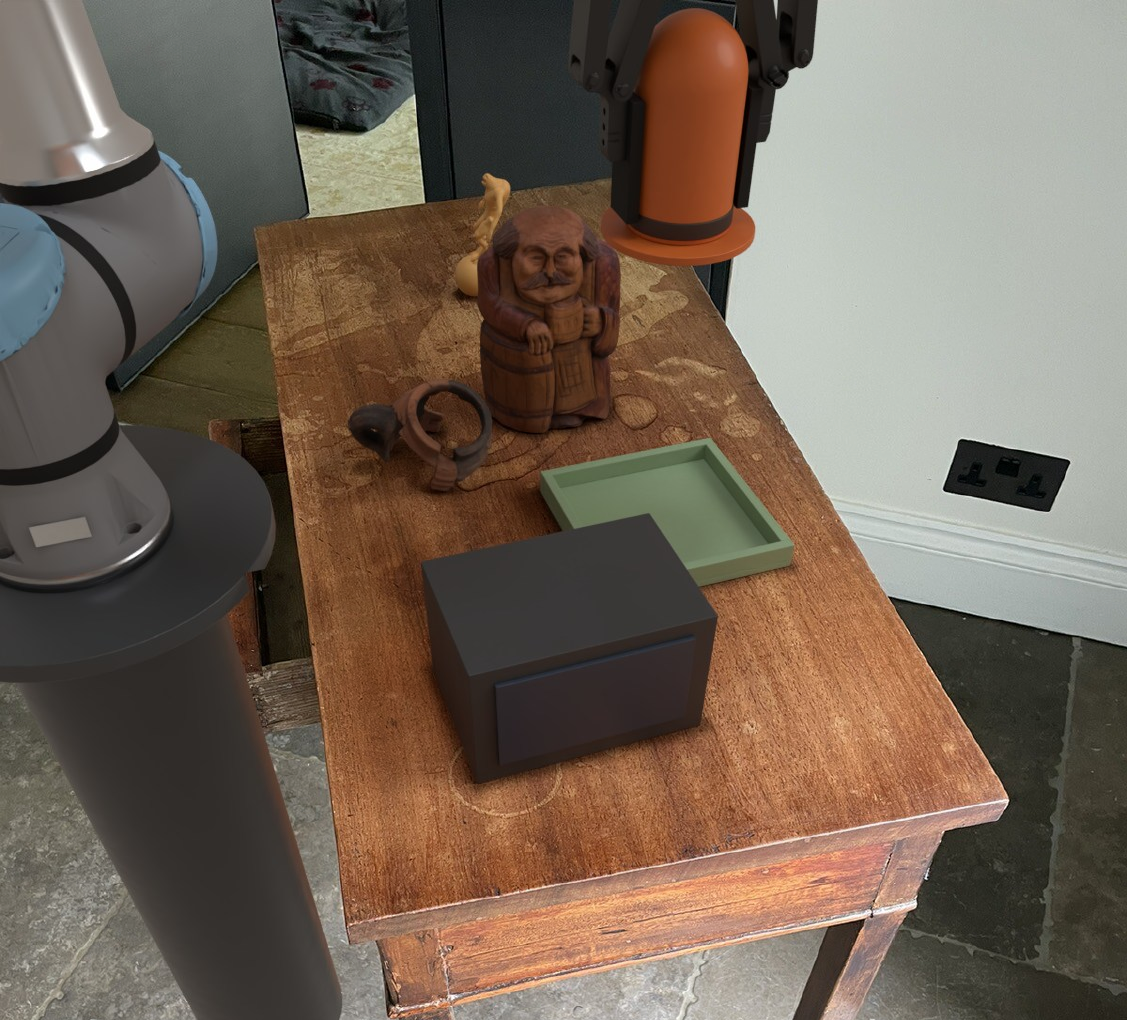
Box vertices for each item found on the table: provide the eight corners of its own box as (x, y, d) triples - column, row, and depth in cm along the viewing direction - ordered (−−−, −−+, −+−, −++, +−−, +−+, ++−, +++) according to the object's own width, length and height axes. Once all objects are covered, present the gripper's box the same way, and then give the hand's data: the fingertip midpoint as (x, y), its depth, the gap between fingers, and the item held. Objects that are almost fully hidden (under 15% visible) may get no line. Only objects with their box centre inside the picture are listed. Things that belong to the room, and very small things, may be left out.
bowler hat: (579, 210, 68) (583, -7, 60) (715, 191, 71) (739, -22, 62) (634, 276, 63) (648, 46, 54) (781, 253, 65) (817, 28, 56)
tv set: (432, 671, 76) (420, 561, 69) (639, 622, 80) (649, 512, 72) (478, 787, 69) (469, 679, 62) (702, 727, 73) (720, 618, 65)
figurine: (453, 277, 116) (445, 158, 106) (508, 274, 116) (505, 155, 107) (458, 314, 110) (451, 192, 101) (516, 311, 111) (514, 189, 102)
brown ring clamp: (466, 423, 98) (494, 370, 90) (479, 517, 95) (509, 470, 88) (335, 413, 93) (353, 355, 86) (345, 511, 91) (365, 460, 83)
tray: (540, 492, 90) (539, 471, 89) (707, 458, 94) (710, 437, 92) (606, 608, 81) (607, 587, 79) (790, 565, 84) (794, 544, 83)
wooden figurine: (495, 441, 95) (486, 235, 82) (480, 403, 99) (469, 201, 86) (621, 423, 97) (633, 220, 84) (601, 387, 101) (610, 187, 88)
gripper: (547, -311, 44) (548, 255, 61) (958, -321, 48) (849, 210, 65) (494, -328, 48) (509, 202, 66) (873, -336, 53) (793, 164, 70)
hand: (679, 206), depth 65 cm, fingers closed on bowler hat, 7 cm apart
